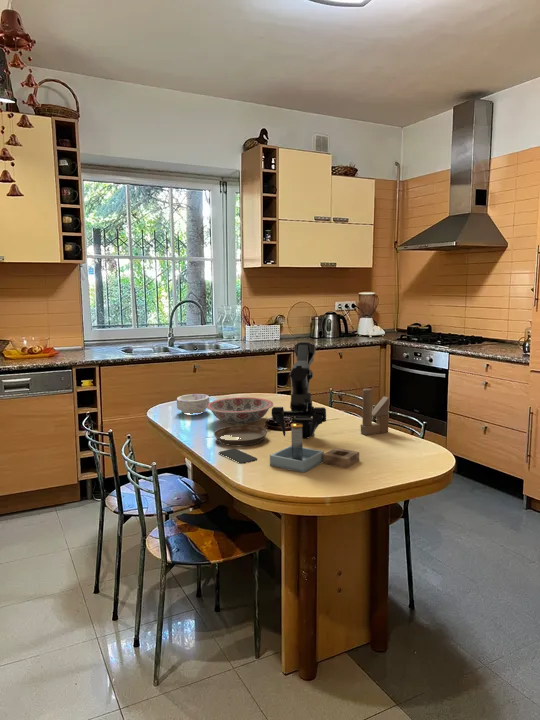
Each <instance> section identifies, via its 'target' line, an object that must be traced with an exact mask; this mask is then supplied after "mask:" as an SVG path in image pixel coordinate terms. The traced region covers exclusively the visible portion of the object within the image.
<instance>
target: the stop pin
mask: <svg viewBox="0 0 540 720" xmlns="http://www.w3.org/2000/svg"><path fill="white" fill-rule="evenodd" d="M302 427H303V424H301V423H295V422H293V423H290V429H291V430H290V431H291V432H290V433H291V436H290V438H291V445H292V459H295V460H300V461H303V448H304V447H303V438H302Z"/></svg>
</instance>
